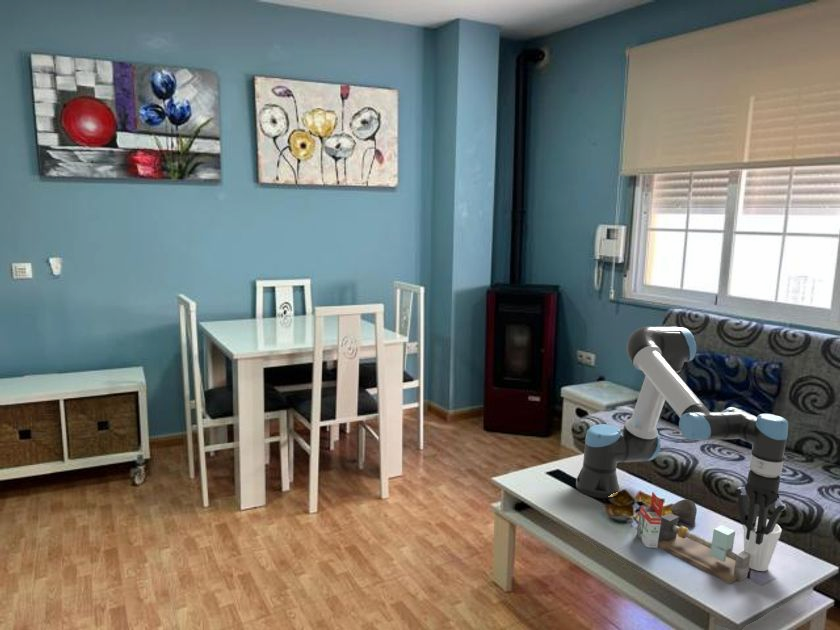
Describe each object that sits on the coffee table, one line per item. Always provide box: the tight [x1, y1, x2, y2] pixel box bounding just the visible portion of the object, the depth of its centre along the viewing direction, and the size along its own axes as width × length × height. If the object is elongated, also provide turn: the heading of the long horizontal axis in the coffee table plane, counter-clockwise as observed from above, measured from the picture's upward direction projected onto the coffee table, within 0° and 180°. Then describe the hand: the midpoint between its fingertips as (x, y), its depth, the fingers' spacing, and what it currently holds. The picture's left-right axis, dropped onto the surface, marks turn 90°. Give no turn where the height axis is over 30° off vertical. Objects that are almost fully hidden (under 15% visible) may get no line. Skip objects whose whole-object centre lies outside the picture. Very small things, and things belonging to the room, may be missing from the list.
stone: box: [669, 499, 698, 527], centre depth 203 cm, size 10×8×10 cm
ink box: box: [636, 491, 664, 549], centre depth 187 cm, size 4×8×15 cm, turn 2°
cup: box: [741, 516, 783, 572], centre depth 177 cm, size 10×10×13 cm
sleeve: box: [710, 524, 736, 562], centre depth 175 cm, size 4×4×8 cm
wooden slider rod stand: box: [657, 513, 751, 584], centre depth 180 cm, size 25×11×8 cm, turn 37°
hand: (752, 552), depth 168 cm, fingers closed
